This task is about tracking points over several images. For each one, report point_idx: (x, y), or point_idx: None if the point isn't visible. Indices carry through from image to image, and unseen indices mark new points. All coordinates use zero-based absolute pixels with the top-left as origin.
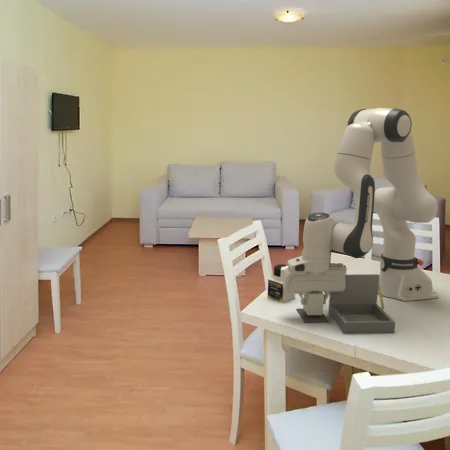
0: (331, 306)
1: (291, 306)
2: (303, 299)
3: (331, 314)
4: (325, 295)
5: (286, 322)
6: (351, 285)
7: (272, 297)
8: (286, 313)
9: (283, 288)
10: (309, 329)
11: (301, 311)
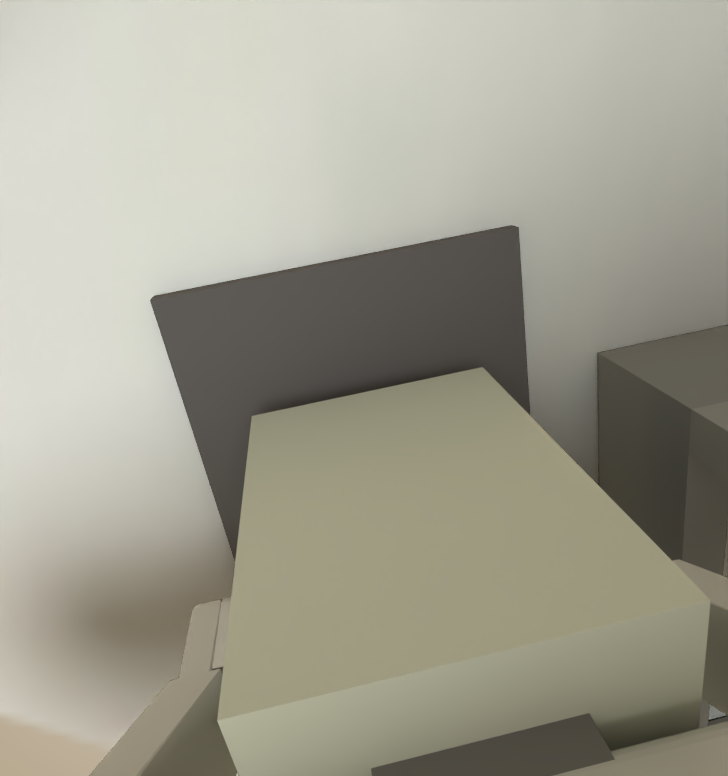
0: (685, 526)
1: (51, 152)
2: (232, 762)
3: (618, 489)
4: (715, 670)
5: (69, 692)
6: None
7: None
8: (19, 456)
9: None
10: None
11: (233, 402)
